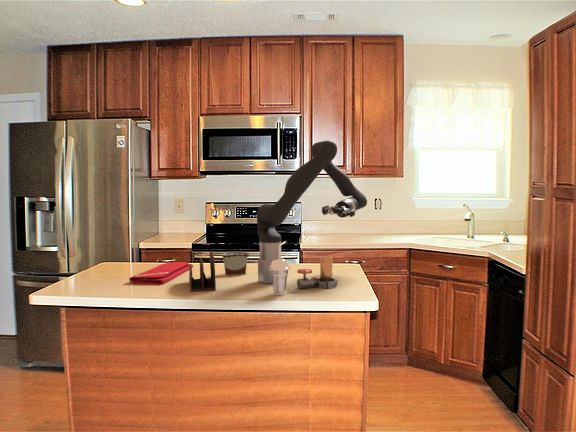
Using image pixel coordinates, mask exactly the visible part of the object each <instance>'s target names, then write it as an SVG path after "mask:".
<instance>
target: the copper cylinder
mask: <svg viewBox="0 0 576 432" xmlns="http://www.w3.org/2000/svg"><path fill="white" fill-rule="evenodd" d="M319 260H320V261H319V262H320V263H319V278H320V281H324V282H329V281H332V278H333V256H331V255H330V256H329V255H322V256H320V257H319Z"/></svg>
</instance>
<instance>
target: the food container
mask: <svg viewBox="0 0 576 432" xmlns="http://www.w3.org/2000/svg"><path fill="white" fill-rule="evenodd" d="M248 258H249V253H248V252H246V251H226V252H223V254H222V260H223V264H224V273H225V276H226V275H228V276H240V275H241V276H242V275H243V274H244V275H246V273H247V265H248Z"/></svg>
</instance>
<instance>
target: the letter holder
mask: <svg viewBox="0 0 576 432" xmlns="http://www.w3.org/2000/svg"><path fill="white" fill-rule="evenodd" d="M189 264H190V265H189V270H188V271H189V273H188V274H189V277H188V280H189V289H190V290H189V291H190V292H191V293H197V292H200V293H201V292H215V291H216V290H217V286H216V283H217V282H216V268H215V266H216V264H215V256H214V253H213V252H212V251H211V250H210V251H209V265H210V267H209V268H210V277H209V278H207V276H206V274H205V271H204V269H205V268H204V262H203V259H202V257H199V278H194V277H193V267H191V264H192V263H189Z"/></svg>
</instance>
